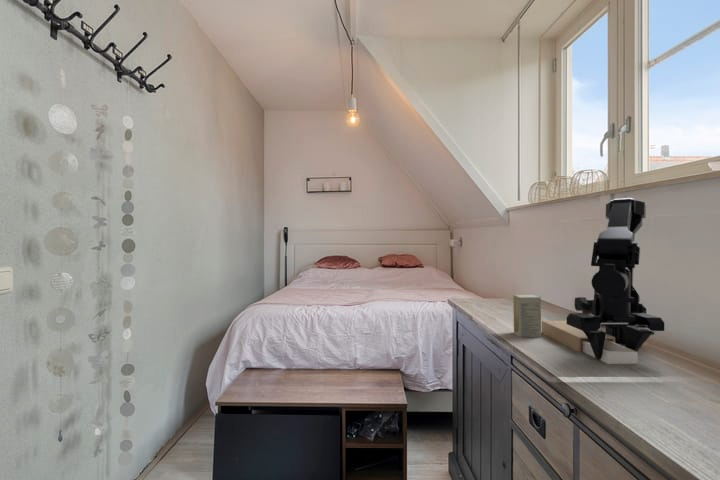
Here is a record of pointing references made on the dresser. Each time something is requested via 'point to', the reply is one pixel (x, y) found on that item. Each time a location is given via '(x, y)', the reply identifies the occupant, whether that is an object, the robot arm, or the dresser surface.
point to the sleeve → (567, 334)
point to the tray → (612, 353)
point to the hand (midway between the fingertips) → (613, 358)
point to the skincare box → (527, 315)
